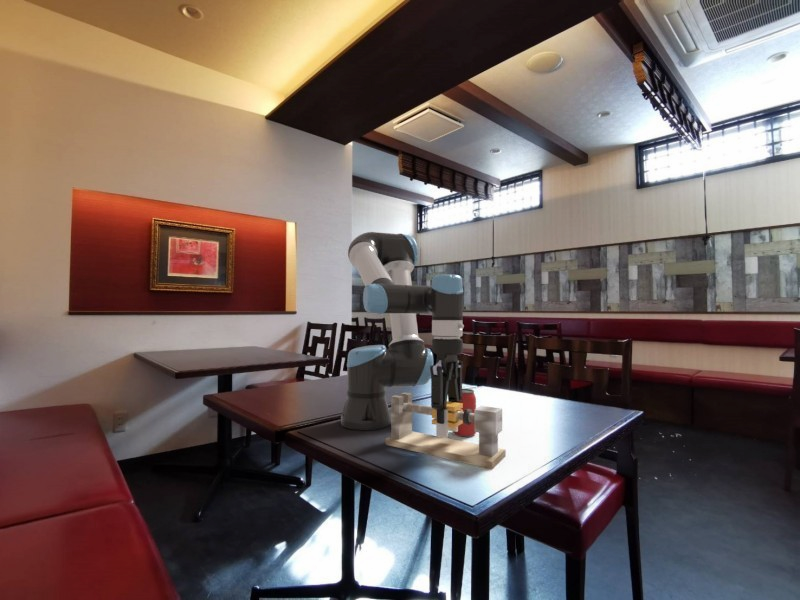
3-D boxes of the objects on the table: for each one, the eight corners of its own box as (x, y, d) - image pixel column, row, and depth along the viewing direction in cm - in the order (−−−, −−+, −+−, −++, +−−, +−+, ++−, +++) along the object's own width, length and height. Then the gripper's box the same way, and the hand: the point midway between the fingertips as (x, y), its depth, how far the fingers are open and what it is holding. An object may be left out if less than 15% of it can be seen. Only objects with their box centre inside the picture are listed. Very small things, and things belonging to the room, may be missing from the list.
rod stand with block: (385, 444, 98) (385, 397, 98) (404, 435, 105) (404, 391, 106) (492, 469, 82) (492, 412, 83) (505, 456, 90) (505, 404, 91)
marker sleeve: (431, 423, 93) (431, 403, 93) (440, 419, 97) (440, 400, 97) (454, 428, 90) (454, 407, 90) (462, 423, 94) (462, 403, 94)
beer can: (447, 431, 109) (447, 389, 109) (467, 429, 111) (467, 387, 112) (460, 438, 103) (460, 393, 103) (480, 435, 105) (480, 391, 106)
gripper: (444, 340, 85) (444, 447, 84) (475, 336, 100) (476, 427, 99) (415, 338, 89) (415, 440, 88) (449, 335, 104) (449, 422, 103)
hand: (447, 433), depth 93 cm, fingers closed on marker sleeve, 5 cm apart
